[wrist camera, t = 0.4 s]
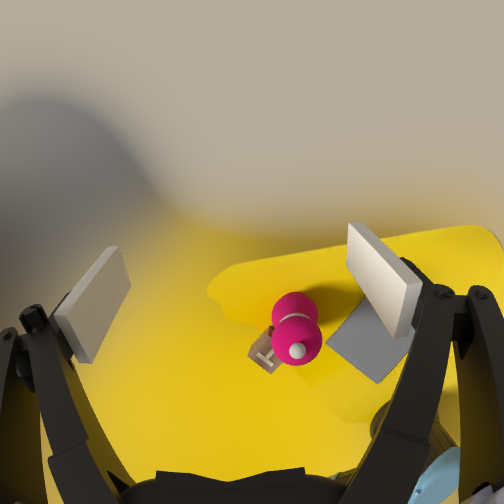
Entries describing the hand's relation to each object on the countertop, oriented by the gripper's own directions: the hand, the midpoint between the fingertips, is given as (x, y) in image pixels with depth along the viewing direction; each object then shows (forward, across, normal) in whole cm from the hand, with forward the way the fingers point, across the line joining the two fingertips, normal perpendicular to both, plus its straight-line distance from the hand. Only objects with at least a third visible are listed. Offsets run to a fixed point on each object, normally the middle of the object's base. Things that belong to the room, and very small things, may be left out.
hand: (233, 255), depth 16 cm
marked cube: (+23, -3, +29) cm, 37 cm away
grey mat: (+20, -22, +28) cm, 41 cm away
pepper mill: (+25, -8, +23) cm, 35 cm away
